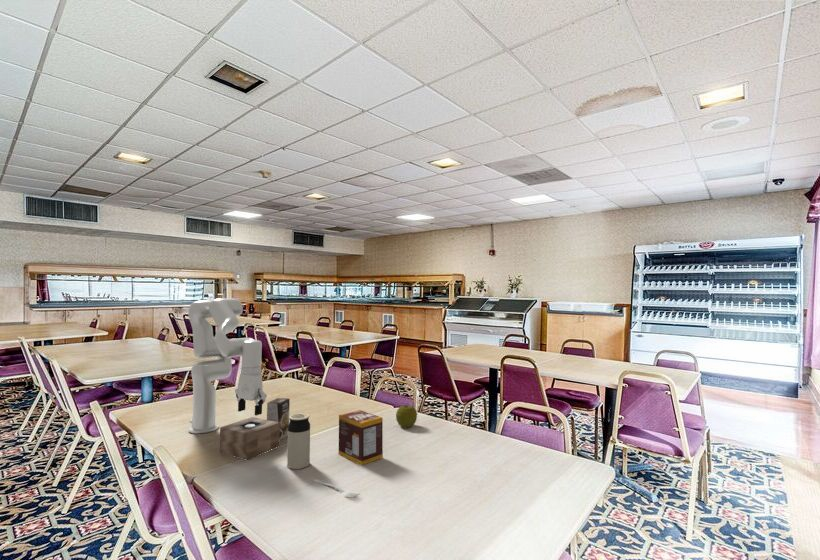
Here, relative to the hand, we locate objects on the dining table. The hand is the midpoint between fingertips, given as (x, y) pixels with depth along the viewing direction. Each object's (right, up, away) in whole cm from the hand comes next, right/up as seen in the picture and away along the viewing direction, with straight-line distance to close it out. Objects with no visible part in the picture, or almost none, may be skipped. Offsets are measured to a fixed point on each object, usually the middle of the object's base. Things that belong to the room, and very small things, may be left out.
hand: (249, 412), depth 167 cm
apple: (+64, -16, +29) cm, 72 cm away
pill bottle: (0, -14, -1) cm, 14 cm away
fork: (+40, -14, -33) cm, 54 cm away
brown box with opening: (0, -15, -1) cm, 15 cm away
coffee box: (+7, -16, +14) cm, 22 cm away
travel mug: (+24, -15, -16) cm, 32 cm away
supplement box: (+46, -15, -7) cm, 49 cm away
